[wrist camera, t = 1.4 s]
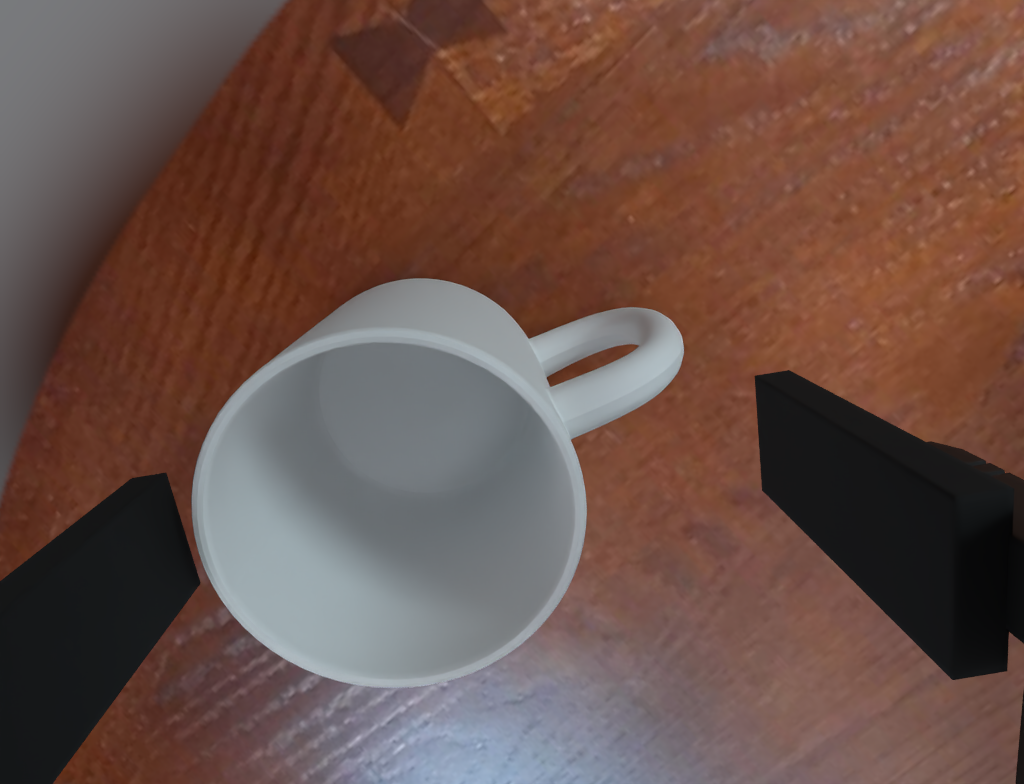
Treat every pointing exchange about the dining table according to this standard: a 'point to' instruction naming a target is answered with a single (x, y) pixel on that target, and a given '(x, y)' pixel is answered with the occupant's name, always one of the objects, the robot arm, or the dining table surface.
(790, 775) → the dining table surface
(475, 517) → the cup
